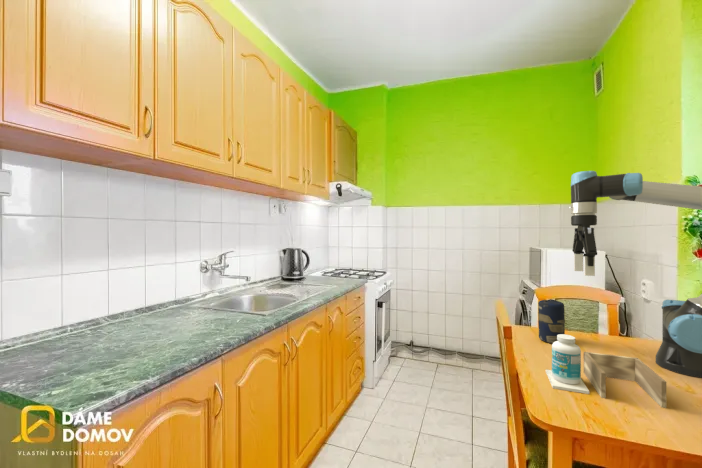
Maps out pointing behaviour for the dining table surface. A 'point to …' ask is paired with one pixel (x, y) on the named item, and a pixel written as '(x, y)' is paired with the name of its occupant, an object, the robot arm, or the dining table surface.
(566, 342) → the pill bottle
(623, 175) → the robot arm
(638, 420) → the dining table surface
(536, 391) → the dining table surface
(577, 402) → the dining table surface
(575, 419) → the dining table surface
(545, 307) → the canister
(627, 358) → the beige three-walled frame
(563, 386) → the tile
